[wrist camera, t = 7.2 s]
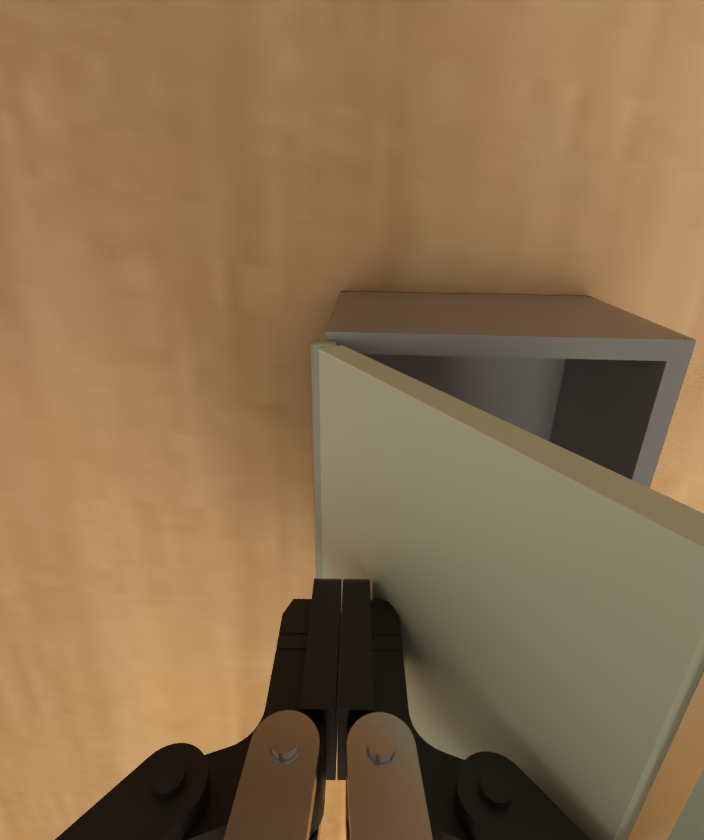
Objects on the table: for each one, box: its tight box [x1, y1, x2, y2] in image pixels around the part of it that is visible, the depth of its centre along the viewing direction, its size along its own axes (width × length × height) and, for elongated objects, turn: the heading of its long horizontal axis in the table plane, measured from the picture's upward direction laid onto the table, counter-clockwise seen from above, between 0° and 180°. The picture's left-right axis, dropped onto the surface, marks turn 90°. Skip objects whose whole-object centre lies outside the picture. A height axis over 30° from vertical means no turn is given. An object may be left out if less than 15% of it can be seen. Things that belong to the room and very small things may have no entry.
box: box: [325, 291, 696, 488], centre depth 19 cm, size 13×10×7 cm
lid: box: [310, 340, 704, 840], centre depth 11 cm, size 13×11×2 cm
